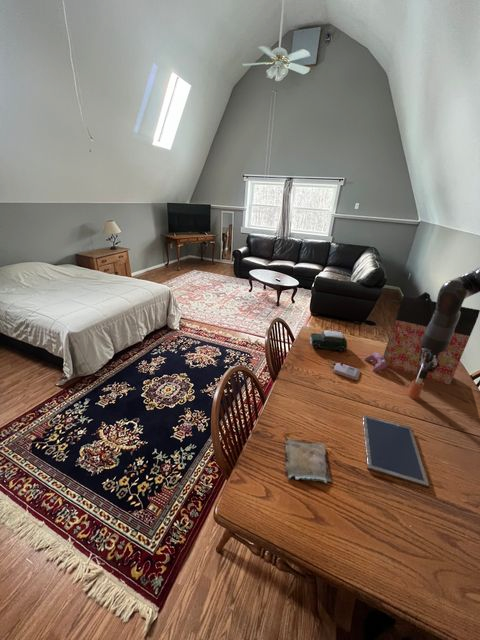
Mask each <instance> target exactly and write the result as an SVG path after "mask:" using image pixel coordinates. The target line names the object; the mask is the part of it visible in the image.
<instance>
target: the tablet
mask: <svg viewBox="0 0 480 640" xmlns="http://www.w3.org/2000/svg"><path fill="white" fill-rule="evenodd" d="M361 420H362V429H363V440H364V450H365V458H366V459H365V460H366V469H367V470H368V471H371V472H375V473H377V474H381V475H384V476H388V477H391V478H394V479H397V480H401V481H404V482H408V483H410V484H413V485H417V486H421V487H424V488H427V489H429V488H430V484H429V480H428V477H427V473H426V471H425V468H424V464H423V461H422V457H421V455H420V451H419V448H418V445H417V442H416V439H415V435H414V433H413V429H412V427H411V426H407V425H404V424H400V423H395V422H392V421H388V420H385V419H380V418H377V417H373V416H368V415H365V414H362V419H361Z"/></svg>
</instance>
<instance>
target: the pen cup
mask: <svg viewBox="0 0 480 640" xmlns="http://www.w3.org/2000/svg"><path fill="white" fill-rule="evenodd" d="M415 382H416V379H413V380H412V382H411V384H410V387H409V389H408V392H407V397H408V398H410V399H412V400H419V398H420V395H421V393H422V391H423V388H424V386H425V383H424V382H423V381H422V382H421V385H418V384H416V383H415Z"/></svg>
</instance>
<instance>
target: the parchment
mask: <svg viewBox="0 0 480 640" xmlns="http://www.w3.org/2000/svg"><path fill="white" fill-rule="evenodd" d="M284 442H285V452H284V455H285V457H284V459H286V460H285V462H284V463H285V472H284V474H285V475H286V477H287V478H288V479H291V478H294V480H297V481H299V480H303V481H307V480H309V481H312V482H317V481H318V482H323V483H324V484H325V485H328V483H329V484H332V476H331V473H330V469H329V468H330V467H329V463H328V461H327V460H328V457H327V456H326V455H327V451H326V444H325V443H323V442H317V441H306V440H297V439H289V438H286V439H284Z"/></svg>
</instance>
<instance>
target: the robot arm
mask: <svg viewBox="0 0 480 640" xmlns="http://www.w3.org/2000/svg"><path fill="white" fill-rule="evenodd" d="M478 293H480V266H479V267H478V268H476V269H475V270H472V271H470V272H467V273H464V274H463V275H459V276H458V277H455V278H453V279H450V280H448V281H446V282H444V283H443V284H442V285H441V287H440V289H439V291H438V293H437V298H436V301H435V302H436V309H435V311H434V313H433V316H432V318H431V321H430V323H429V324H428V326H427V329H426V331H425V334H424V336H423V339H422V342H421V344H422V346H421V350H420V356H419V361H420V363H419V364H420V366H419V369H418V371H417V374H419V371H420V368H421V366H422V363H423V366H422V369H421V371H420V374H419V378H421V379H423V380H427V378H426V377H427V375H428V372H431V373H432V372H434V371H435V370H436V369H437V368H438V367H439V365H440V364H439V363H437V361H436V360H437V359H438V357H439V353H440V352H445V351H446V350H447V347H448V345H449V343H450V341H451V338H452V336H453V334H454V330H455V327H456V325H457V322H458V320H459V318H460V314H461V312H460V308H461V306H462V307H463V303H464V301H465V299H467V298H469V297H472V296H473V295H476V294H478ZM426 365H427V366H426Z"/></svg>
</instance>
